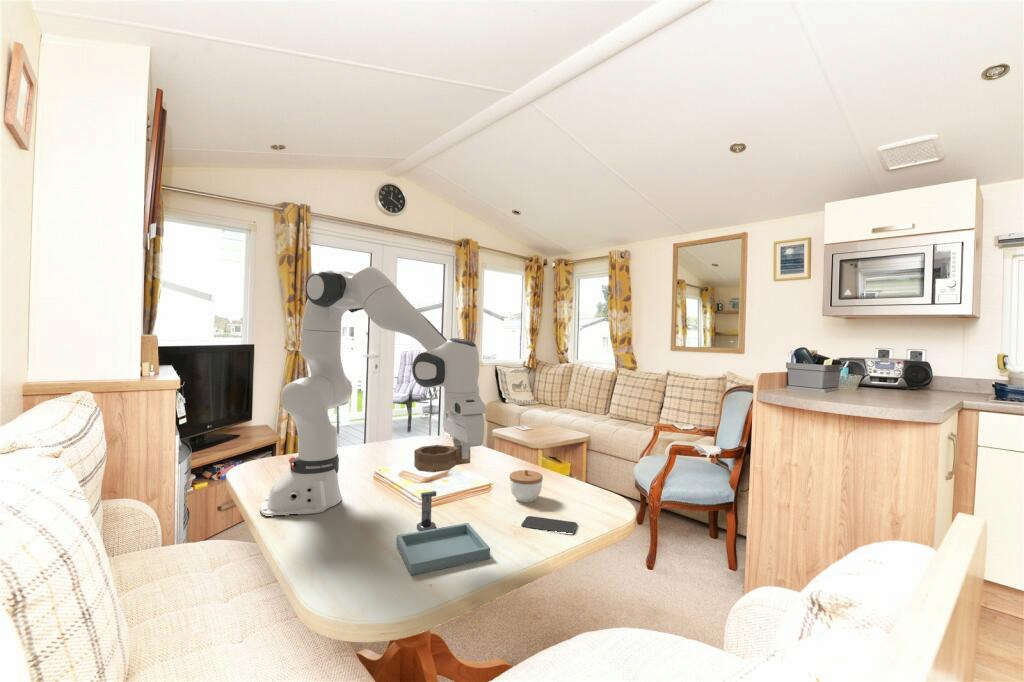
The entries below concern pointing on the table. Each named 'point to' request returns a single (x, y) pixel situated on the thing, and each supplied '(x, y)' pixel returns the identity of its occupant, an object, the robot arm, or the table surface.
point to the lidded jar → (525, 485)
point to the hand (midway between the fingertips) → (461, 455)
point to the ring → (438, 458)
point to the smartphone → (549, 524)
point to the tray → (441, 548)
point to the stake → (426, 512)
